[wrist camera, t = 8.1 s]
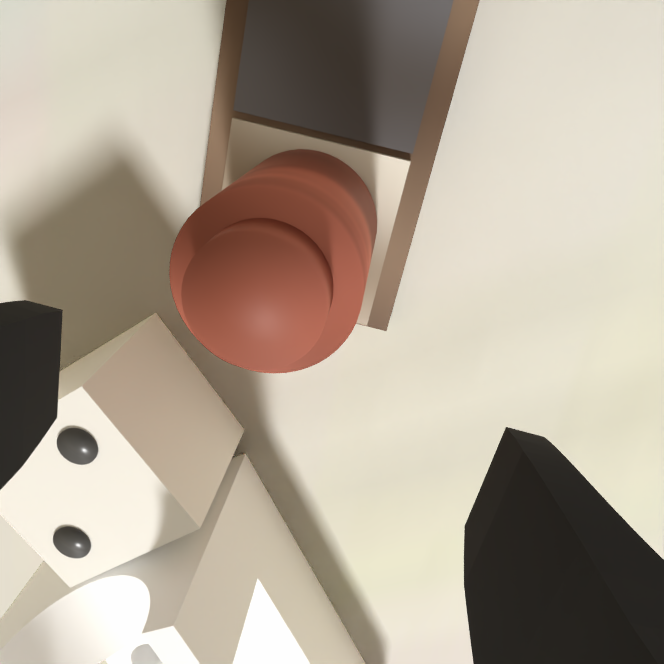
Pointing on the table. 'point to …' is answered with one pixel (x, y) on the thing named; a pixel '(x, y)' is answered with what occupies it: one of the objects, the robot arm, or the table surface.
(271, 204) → the pawn
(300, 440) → the table surface
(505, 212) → the table surface
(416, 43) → the board
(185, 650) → the bracket
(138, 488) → the die
